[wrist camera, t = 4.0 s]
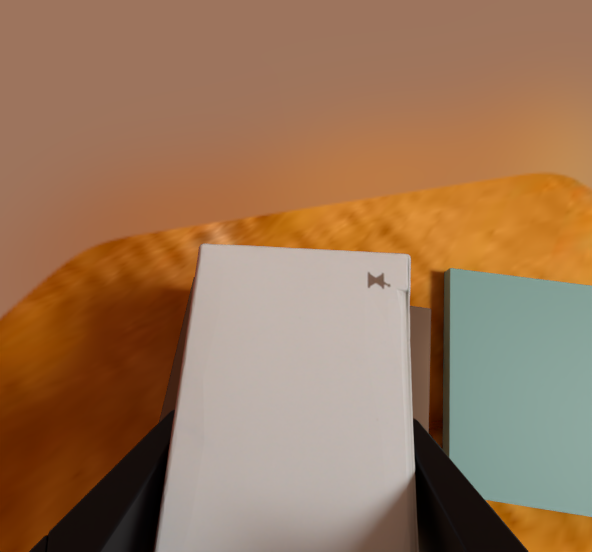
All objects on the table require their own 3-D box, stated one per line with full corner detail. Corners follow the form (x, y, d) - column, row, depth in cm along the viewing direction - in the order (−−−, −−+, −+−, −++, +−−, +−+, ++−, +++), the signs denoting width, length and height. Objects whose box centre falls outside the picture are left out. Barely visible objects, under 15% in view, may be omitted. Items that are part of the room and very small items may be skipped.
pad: (606, 292, 19) (619, 289, 18) (637, 519, 16) (655, 527, 15) (444, 272, 19) (450, 268, 18) (442, 488, 16) (449, 493, 15)
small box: (252, 310, 19) (196, 232, 9) (352, 317, 18) (414, 244, 8) (235, 471, 16) (131, 620, 6) (349, 480, 16) (431, 649, 6)
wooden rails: (410, 319, 18) (431, 308, 16) (398, 638, 14) (422, 703, 11) (209, 292, 19) (193, 277, 16) (143, 591, 15) (106, 641, 12)
